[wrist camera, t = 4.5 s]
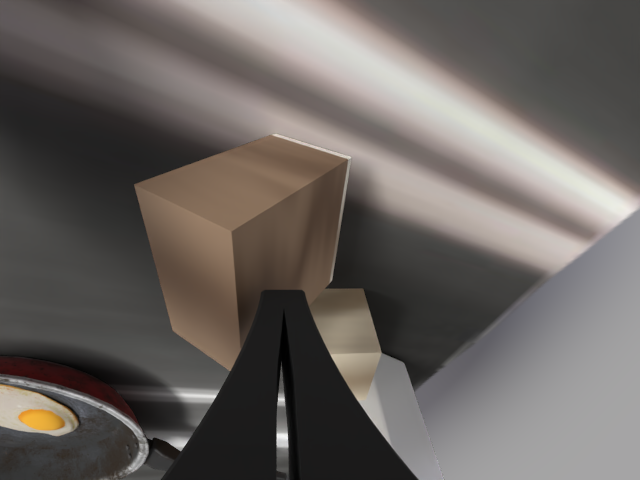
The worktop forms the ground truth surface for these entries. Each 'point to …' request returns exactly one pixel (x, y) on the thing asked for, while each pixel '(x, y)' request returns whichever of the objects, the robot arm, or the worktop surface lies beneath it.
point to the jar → (401, 418)
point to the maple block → (348, 336)
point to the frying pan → (70, 426)
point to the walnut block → (243, 235)
